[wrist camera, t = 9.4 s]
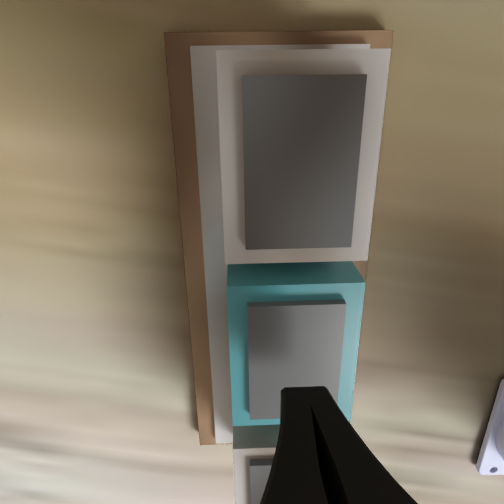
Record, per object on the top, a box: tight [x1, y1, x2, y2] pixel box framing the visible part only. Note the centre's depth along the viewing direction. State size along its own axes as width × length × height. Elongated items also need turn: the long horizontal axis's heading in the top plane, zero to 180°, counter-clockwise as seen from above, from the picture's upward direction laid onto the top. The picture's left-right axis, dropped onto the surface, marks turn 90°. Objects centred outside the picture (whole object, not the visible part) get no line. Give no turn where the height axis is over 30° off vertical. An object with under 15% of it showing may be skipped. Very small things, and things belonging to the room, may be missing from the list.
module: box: [227, 261, 366, 426], centre depth 17 cm, size 4×6×6 cm
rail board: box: [164, 30, 394, 504], centre depth 17 cm, size 9×22×8 cm, turn 1°
